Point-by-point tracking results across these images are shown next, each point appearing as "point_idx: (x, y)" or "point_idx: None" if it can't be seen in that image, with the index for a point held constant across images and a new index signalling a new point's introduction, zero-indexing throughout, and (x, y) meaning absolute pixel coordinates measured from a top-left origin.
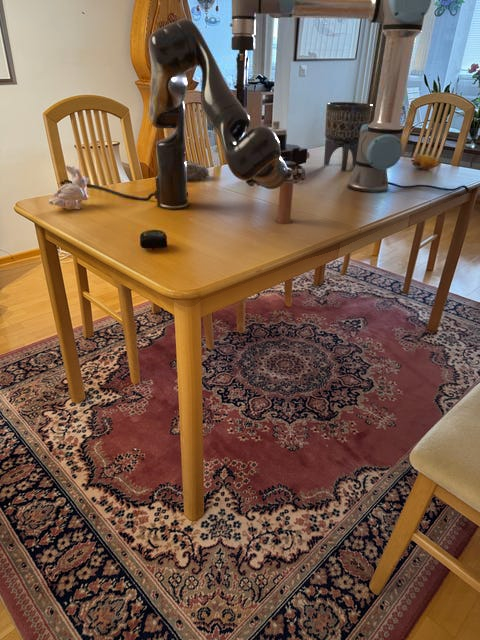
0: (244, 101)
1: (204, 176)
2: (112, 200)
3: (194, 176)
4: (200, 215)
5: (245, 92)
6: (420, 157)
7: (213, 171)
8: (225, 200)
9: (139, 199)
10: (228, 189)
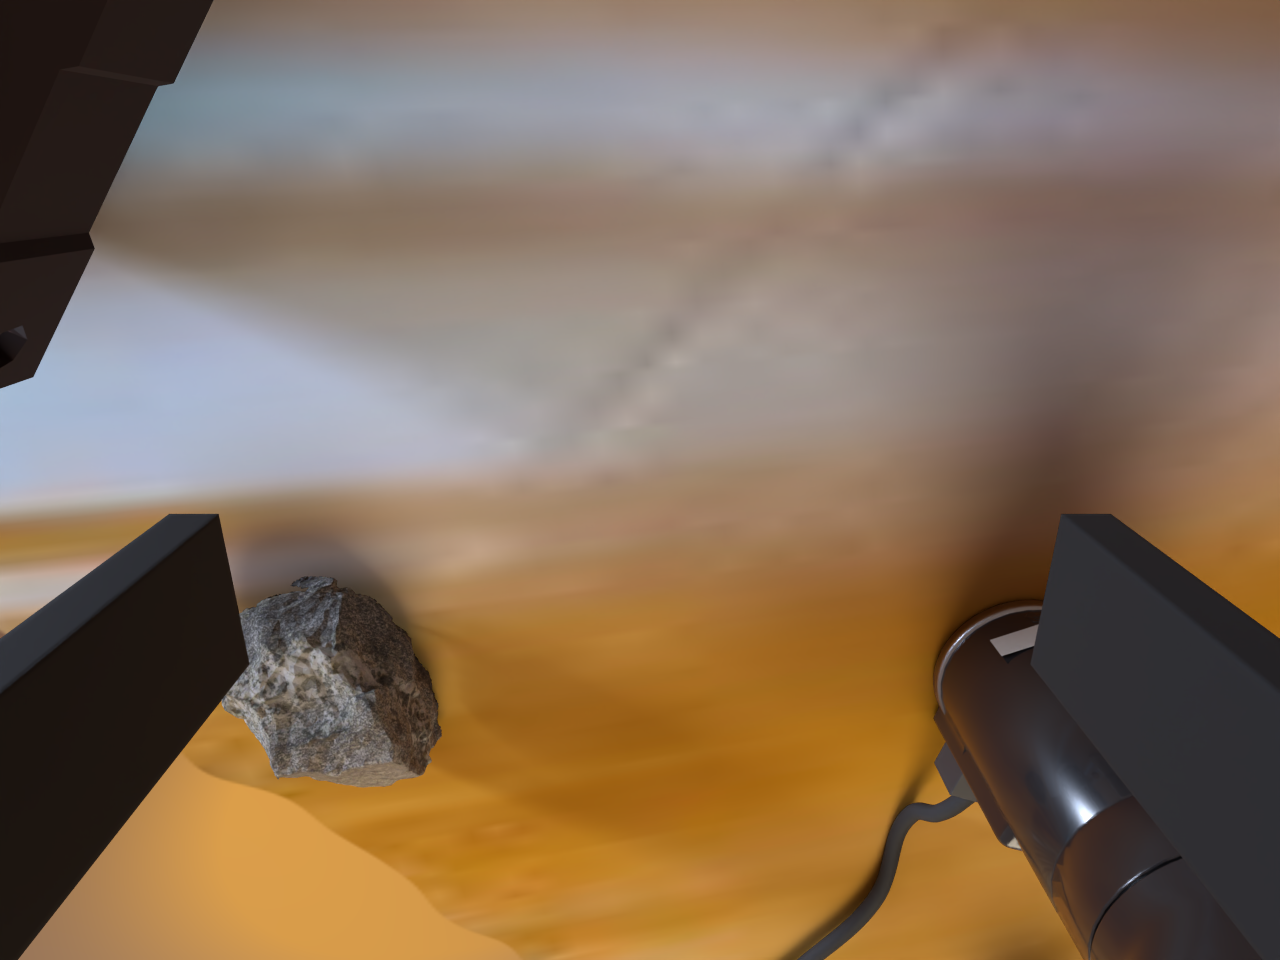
0: (1241, 618)
1: (367, 605)
2: (907, 944)
3: (414, 667)
4: (1220, 503)
5: (3, 760)
6: None
7: (47, 566)
8: (890, 392)
9: (900, 845)
10: (587, 399)
